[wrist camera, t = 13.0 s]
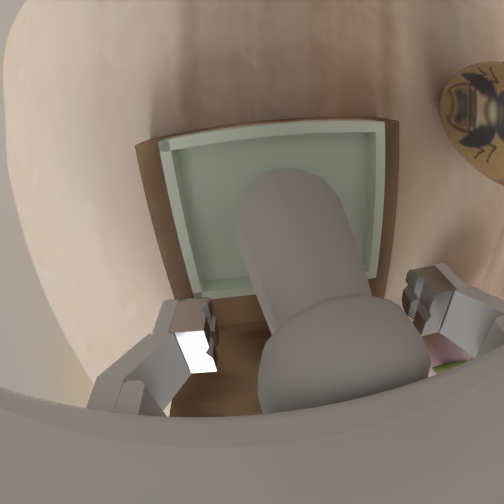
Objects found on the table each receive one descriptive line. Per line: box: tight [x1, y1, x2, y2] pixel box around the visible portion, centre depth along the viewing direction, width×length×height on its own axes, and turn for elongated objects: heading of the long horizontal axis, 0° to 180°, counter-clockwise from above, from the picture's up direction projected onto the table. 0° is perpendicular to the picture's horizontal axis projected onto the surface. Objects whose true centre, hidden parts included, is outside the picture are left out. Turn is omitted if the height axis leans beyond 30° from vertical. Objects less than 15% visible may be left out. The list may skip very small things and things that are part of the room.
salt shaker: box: [232, 169, 431, 414], centre depth 11 cm, size 6×6×13 cm
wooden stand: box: [135, 117, 399, 417], centre depth 15 cm, size 17×22×16 cm
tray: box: [158, 119, 385, 299], centre depth 16 cm, size 12×10×2 cm
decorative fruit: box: [422, 332, 475, 377], centre depth 22 cm, size 9×8×10 cm
